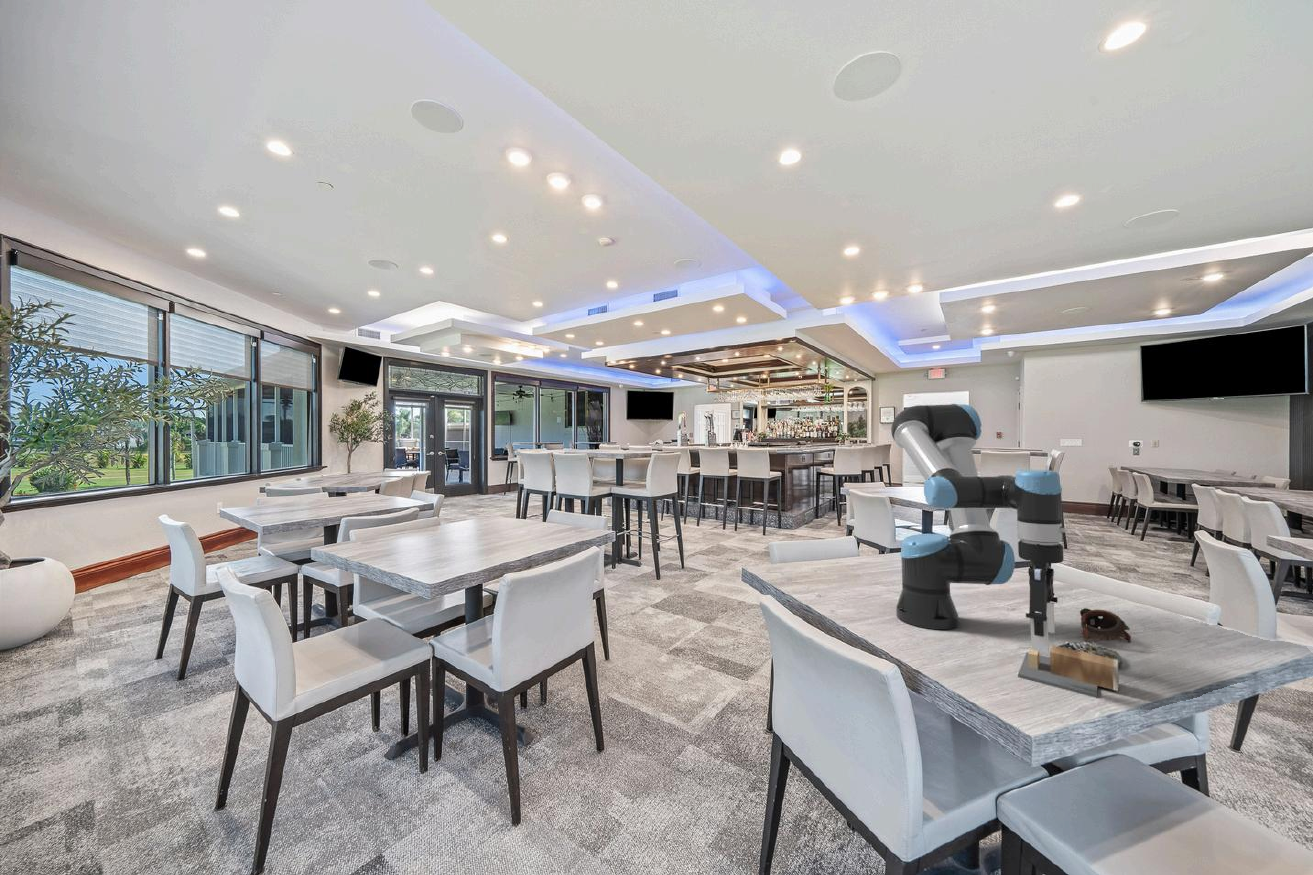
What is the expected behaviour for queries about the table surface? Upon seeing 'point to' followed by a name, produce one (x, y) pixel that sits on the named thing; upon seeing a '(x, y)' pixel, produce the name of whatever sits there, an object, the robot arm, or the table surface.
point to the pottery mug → (1102, 625)
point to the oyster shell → (1093, 650)
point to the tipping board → (1039, 671)
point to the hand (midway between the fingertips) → (1043, 640)
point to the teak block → (1084, 667)
